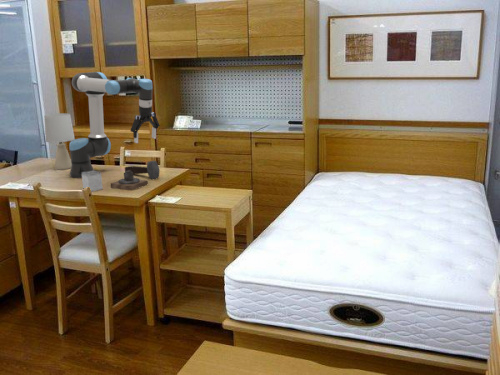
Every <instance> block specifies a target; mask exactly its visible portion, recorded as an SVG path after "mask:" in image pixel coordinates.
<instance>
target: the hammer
mask: <svg viewBox="0 0 500 375" xmlns="http://www.w3.org/2000/svg"><path fill="white" fill-rule="evenodd" d="M128 170H130V171H132V172H133V175H141V174H148V177H149V179H150V180H157V179H159V177H160V166H159V164H158V162H157V161H156V160H150V161H149V160H148V161H147V164H146V166H138V165H137V166H135V165H132V166H131V165H130V166H129V165H128V166H125V167H124V172H125V171H128ZM156 178H157V179H156Z"/></svg>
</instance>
